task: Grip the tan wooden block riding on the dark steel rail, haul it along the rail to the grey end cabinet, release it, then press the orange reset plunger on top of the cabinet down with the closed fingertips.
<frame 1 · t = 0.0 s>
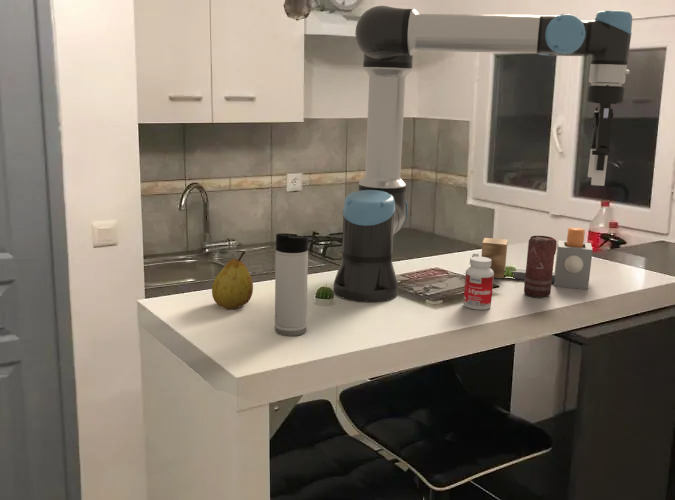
hand: (595, 181, 165), 28 cm above the countertop, fingers open, 13 cm apart
travel mug: (289, 332, 145), on the countertop
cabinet: (570, 283, 185), on the countertop
rail: (515, 277, 189), on the countertop
tan wooden block: (493, 257, 189), point 5 cm above the countertop, slide at 0.0 cm
plunger: (575, 242, 183), point 11 cm above the countertop, slide at 0.0 cm
fruit: (232, 306, 159), on the countertop
pill bottle: (476, 307, 164), on the countertop
can: (537, 295, 174), on the countertop
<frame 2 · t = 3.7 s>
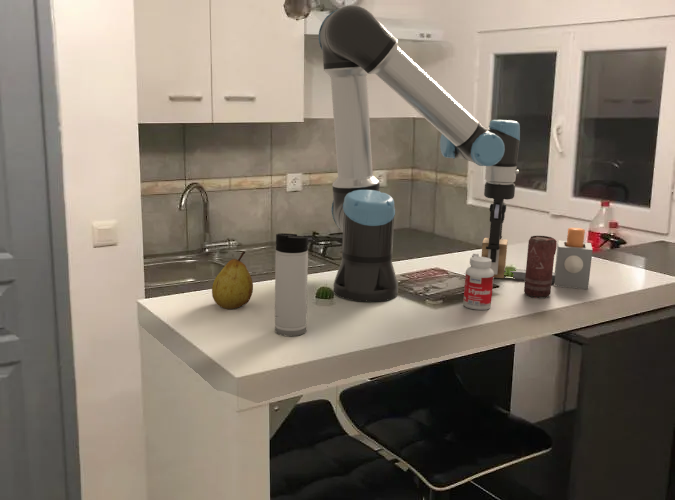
hand: (492, 270, 190), 1 cm above the countertop, fingers closed on tan wooden block, 6 cm apart
tan wooden block: (493, 257, 189), point 5 cm above the countertop, slide at 0.0 cm, touching gripper
everything else where it was.
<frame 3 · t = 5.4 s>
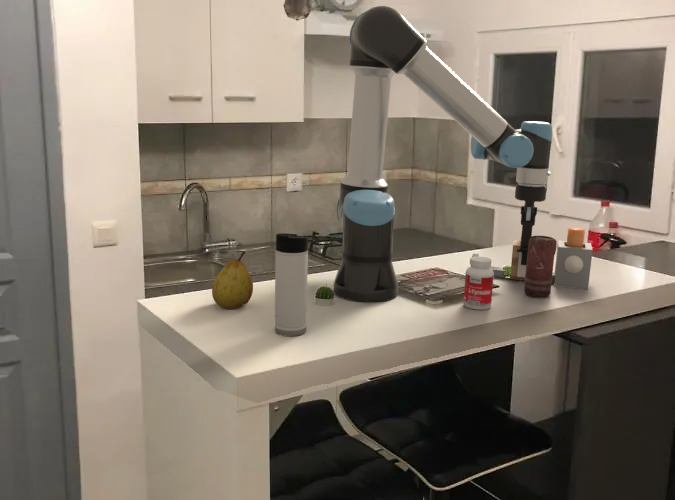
hand: (522, 273, 188), 1 cm above the countertop, fingers closed on tan wooden block, 6 cm apart
tan wooden block: (524, 260, 187), point 5 cm above the countertop, slide at 7.6 cm, touching gripper
everything else where it was.
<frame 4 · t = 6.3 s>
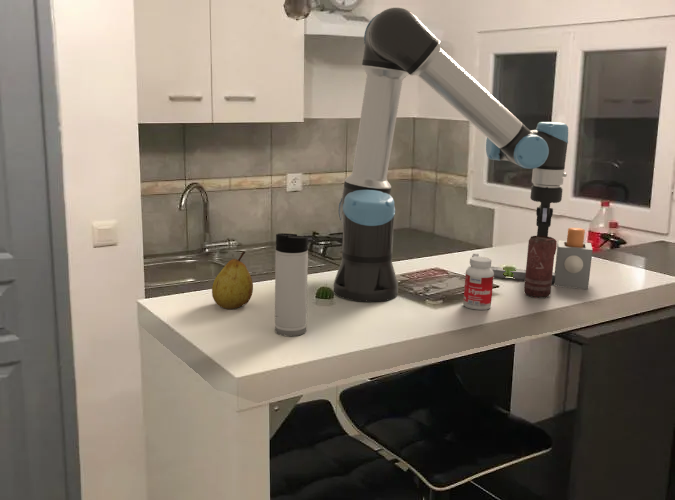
hand: (538, 274, 187), 1 cm above the countertop, fingers closed on tan wooden block, 6 cm apart
tan wooden block: (539, 262, 186), point 5 cm above the countertop, slide at 11.4 cm, touching gripper
everything else where it was.
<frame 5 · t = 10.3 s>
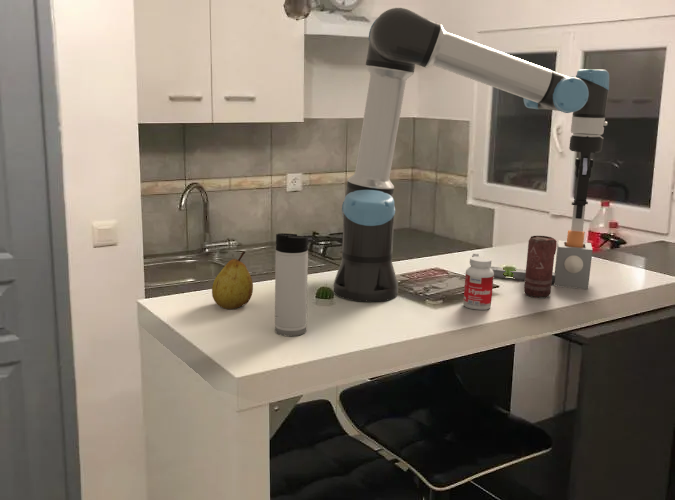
hand: (576, 230, 182), 14 cm above the countertop, fingers closed
tan wooden block: (539, 262, 186), point 5 cm above the countertop, slide at 11.5 cm
plunger: (574, 244, 183), point 10 cm above the countertop, slide at 0.6 cm, touching gripper
everything else where it was.
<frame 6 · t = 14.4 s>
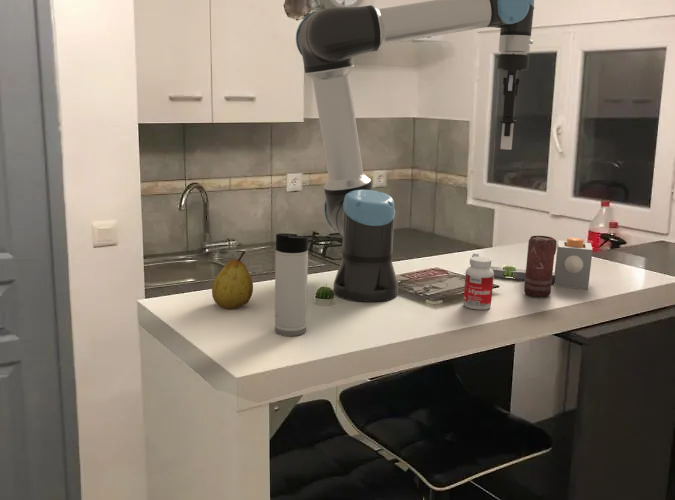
hand: (505, 149, 187), 32 cm above the countertop, fingers closed
plunger: (574, 252, 183), point 8 cm above the countertop, slide at 2.6 cm
everything else where it was.
at the end: tan wooden block slide at 11.5 cm; plunger slide at 2.6 cm; the gripper is holding nothing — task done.
